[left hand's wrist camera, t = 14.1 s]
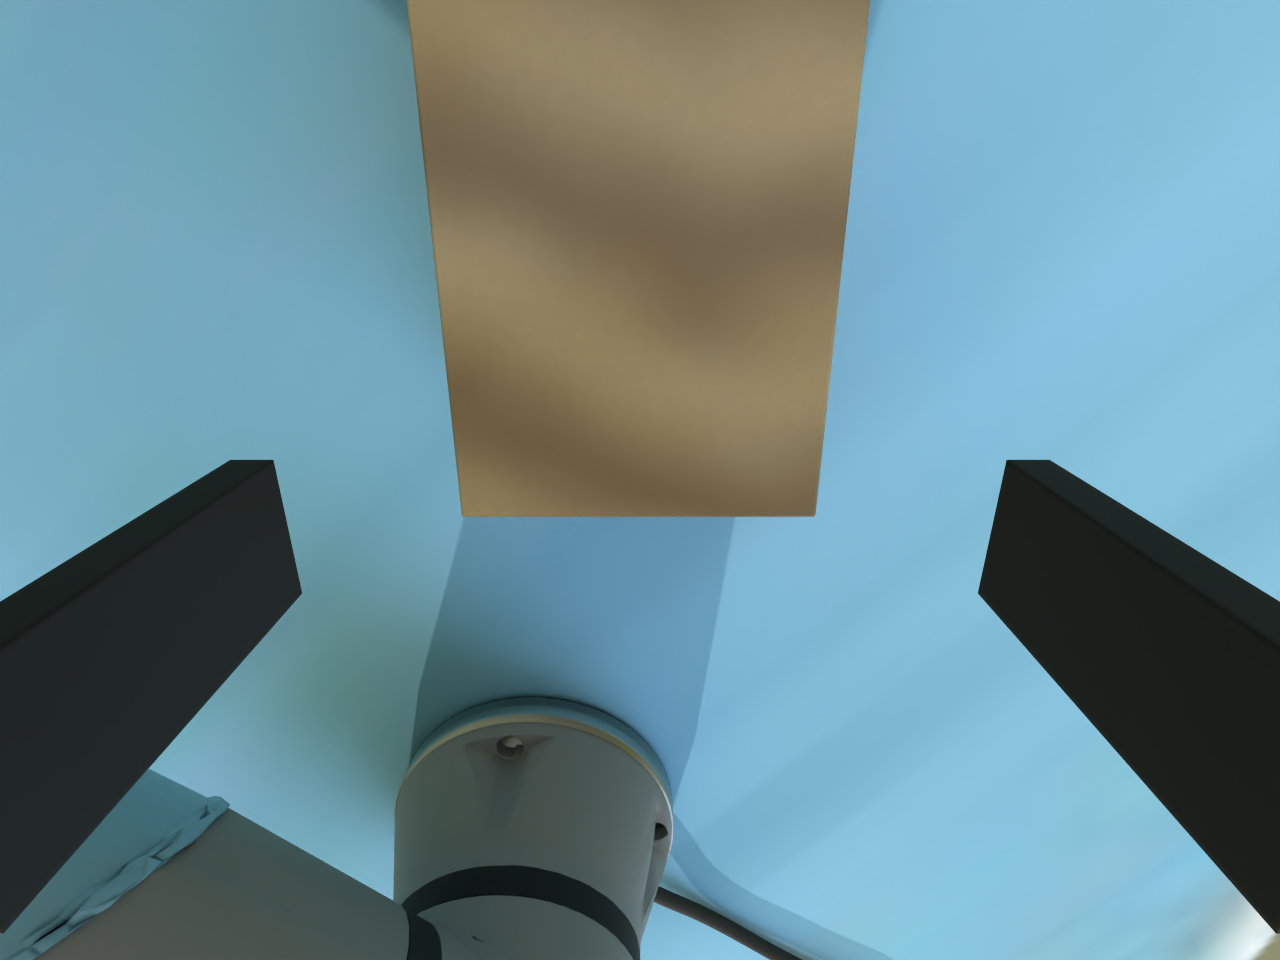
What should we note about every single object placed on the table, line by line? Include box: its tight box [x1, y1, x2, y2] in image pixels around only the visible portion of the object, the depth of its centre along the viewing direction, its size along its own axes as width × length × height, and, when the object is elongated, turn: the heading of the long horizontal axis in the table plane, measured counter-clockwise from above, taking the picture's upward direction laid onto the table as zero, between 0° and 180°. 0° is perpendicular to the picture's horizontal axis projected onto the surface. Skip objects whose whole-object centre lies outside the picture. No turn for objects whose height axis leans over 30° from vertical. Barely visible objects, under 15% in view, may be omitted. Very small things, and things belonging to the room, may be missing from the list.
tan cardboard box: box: [407, 0, 870, 517], centre depth 22 cm, size 18×10×11 cm, turn 0°
